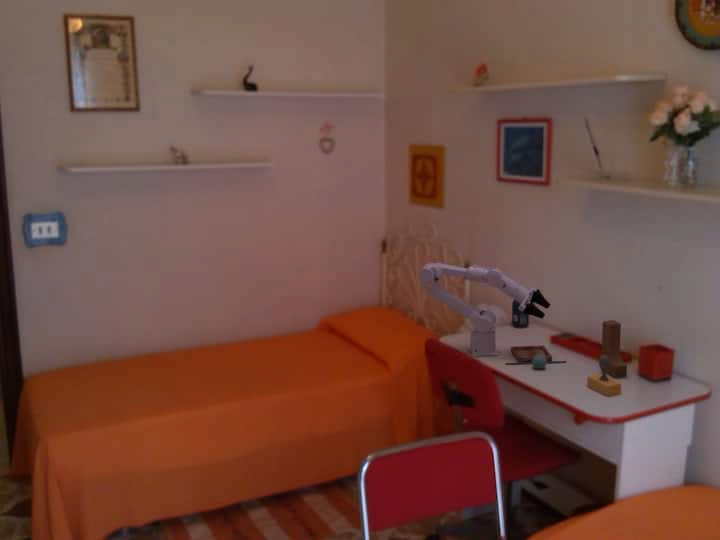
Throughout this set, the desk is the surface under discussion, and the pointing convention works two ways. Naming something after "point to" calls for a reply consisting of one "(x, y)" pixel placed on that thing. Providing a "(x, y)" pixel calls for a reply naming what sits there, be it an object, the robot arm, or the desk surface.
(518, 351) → the tray
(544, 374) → the desk surface
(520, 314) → the soda can
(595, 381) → the rubber stamp
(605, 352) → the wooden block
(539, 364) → the ball
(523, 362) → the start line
